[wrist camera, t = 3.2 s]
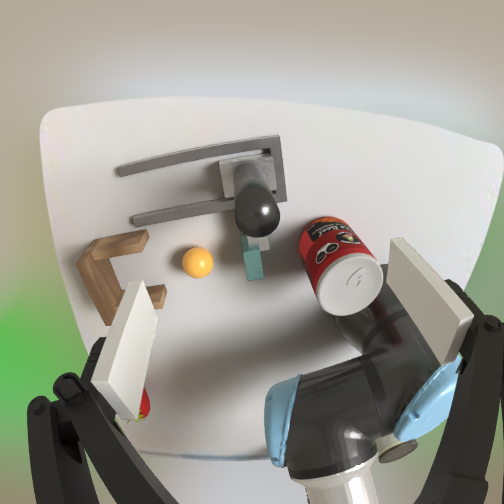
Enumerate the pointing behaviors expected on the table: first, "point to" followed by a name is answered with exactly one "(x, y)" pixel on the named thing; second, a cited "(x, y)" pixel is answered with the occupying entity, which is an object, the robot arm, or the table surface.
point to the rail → (201, 153)
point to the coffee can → (393, 448)
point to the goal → (102, 274)
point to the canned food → (339, 266)
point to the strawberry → (143, 406)
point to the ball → (197, 262)
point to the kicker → (252, 205)
